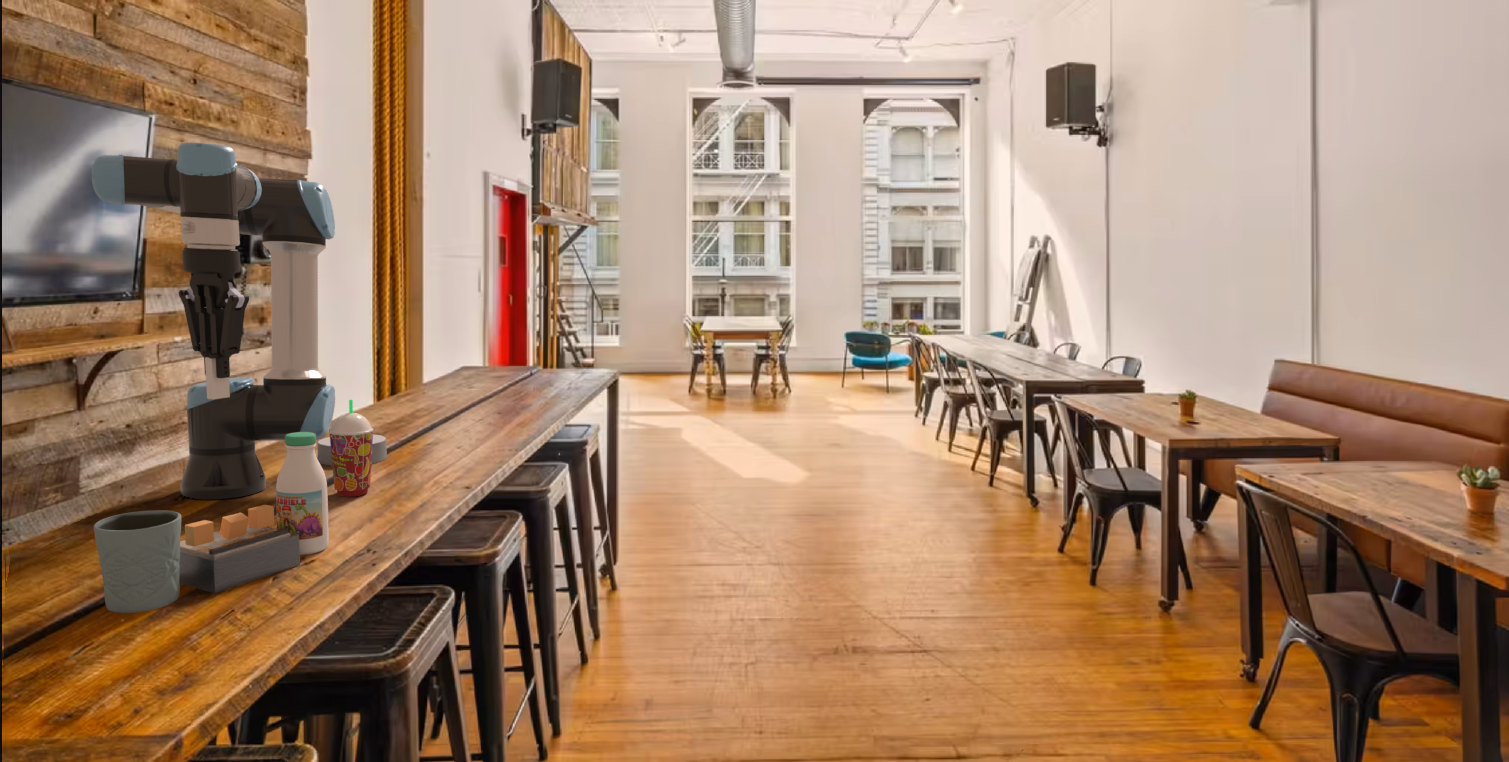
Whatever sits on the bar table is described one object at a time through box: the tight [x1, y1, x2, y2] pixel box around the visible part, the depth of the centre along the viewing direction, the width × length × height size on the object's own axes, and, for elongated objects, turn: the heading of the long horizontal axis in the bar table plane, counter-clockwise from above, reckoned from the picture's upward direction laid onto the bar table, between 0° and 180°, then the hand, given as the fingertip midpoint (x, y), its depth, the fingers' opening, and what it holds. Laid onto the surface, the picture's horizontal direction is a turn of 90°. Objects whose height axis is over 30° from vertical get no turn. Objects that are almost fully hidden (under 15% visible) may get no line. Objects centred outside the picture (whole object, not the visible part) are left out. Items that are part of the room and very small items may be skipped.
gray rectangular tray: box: [179, 525, 301, 594], centre depth 133 cm, size 12×14×6 cm
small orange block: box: [219, 512, 249, 540], centre depth 133 cm, size 2×3×3 cm, turn 158°
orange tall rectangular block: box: [184, 519, 215, 547], centre depth 128 cm, size 2×3×3 cm, turn 156°
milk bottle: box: [275, 432, 330, 556], centre depth 144 cm, size 8×8×20 cm
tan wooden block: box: [247, 504, 275, 529], centre depth 137 cm, size 2×3×3 cm, turn 156°
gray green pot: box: [93, 509, 182, 614], centre depth 121 cm, size 10×10×12 cm
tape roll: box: [316, 433, 388, 467], centre depth 209 cm, size 15×15×5 cm
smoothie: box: [328, 399, 375, 498], centre depth 178 cm, size 8×8×20 cm
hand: (218, 397), depth 135 cm, fingers closed
